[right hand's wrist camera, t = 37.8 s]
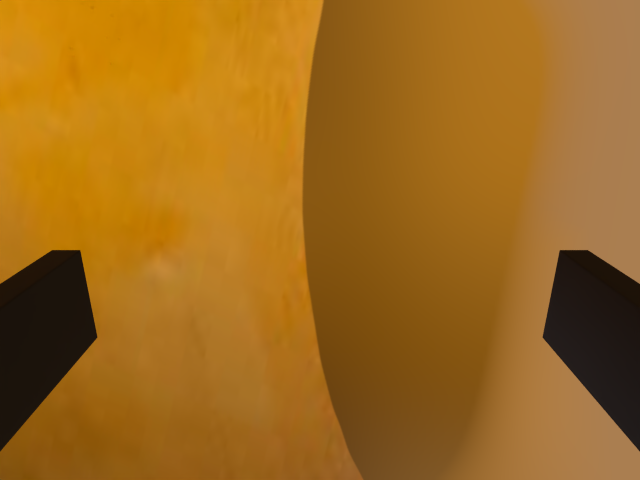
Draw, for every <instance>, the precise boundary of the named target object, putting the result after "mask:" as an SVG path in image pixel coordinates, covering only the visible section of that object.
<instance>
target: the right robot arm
mask: <svg viewBox="0 0 640 480" xmlns="http://www.w3.org/2000/svg"><path fill="white" fill-rule="evenodd" d="M96 338H97V333H96V328H95V323H94V318H93V313H92V308H91V303H90V298H89V293H88V288H87V282H86V277H85V272H84V267H83V262H82V257H81V252H80V250H52V251H50V252H49V253H47V254H46V255H44V256H43V257H41V258H40V259H38V260H36V261H35V262H33V263H32V264H30V265H29V266H27V267H26V268H24V269H23V270H21V271H19V272H18V273H16V274H15V275H13V276H12V277H10V278H9V279H7V280H6V281H4V282H3V283H1V284H0V451H1V450H2V449H3V447H4V446H5V445H6V444H7V443H8V442H9V440H10V439H11V438H12V437H13V436H14V435H15V433H16V432H17V431H18V430H19V429H20V428H21V426H22V425H23V424H24V423H25V422H26V420H27V419H28V418H29V417H30V416H31V415H32V413H33V412H34V411H35V410H36V409H37V408H38V406H39V405H40V404H41V403H42V402H43V401H44V399H45V398H46V397H47V396H48V395H49V394H50V392H51V391H52V390H53V389H54V388H55V386H56V385H57V384H58V383H59V382H60V381H61V379H62V378H63V377H64V376H65V375H66V374H67V372H68V371H69V370H70V369H71V368H72V367H73V365H74V364H75V363H76V362H77V361H78V360H79V358H80V357H81V356H82V355H83V354H84V352H85V351H86V350H87V349H88V348H89V347H90V345H91V344H92V343H93V342H94V341H95V340H96ZM543 338H544V340H545V341H546V342H547V343H548V344H549V345H550V347H551V348H552V349H553V350H554V351H555V352H556V354H557V355H558V356H559V357H560V358H561V359H562V361H563V362H564V363H565V364H566V365H567V367H568V368H569V369H570V370H571V371H572V372H573V374H574V375H575V376H576V377H577V378H578V379H579V381H580V382H581V383H582V384H583V385H584V386H585V388H586V389H587V390H588V391H589V392H590V394H591V395H592V396H593V397H594V398H595V399H596V401H597V402H598V403H599V404H600V405H601V406H602V408H603V409H604V410H605V411H606V412H607V413H608V415H609V416H610V417H611V418H612V419H613V420H614V422H615V423H616V424H617V425H618V426H619V428H620V429H621V430H622V431H623V432H624V433H625V435H626V436H627V437H628V438H629V439H630V440H631V442H632V443H633V444H634V445H635V446H636V447H637V449H638V450H639V451H640V284H639V283H637V282H636V281H634V280H633V279H631V278H630V277H628V276H627V275H625V274H624V273H622V272H620V271H619V270H617V269H616V268H614V267H613V266H611V265H610V264H608V263H607V262H605V261H604V260H602V259H600V258H599V257H597V256H596V255H594V254H593V253H591V252H590V251H588V250H560V252H559V257H558V262H557V267H556V272H555V277H554V282H553V288H552V293H551V298H550V303H549V308H548V313H547V318H546V323H545V328H544V333H543Z"/></svg>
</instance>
